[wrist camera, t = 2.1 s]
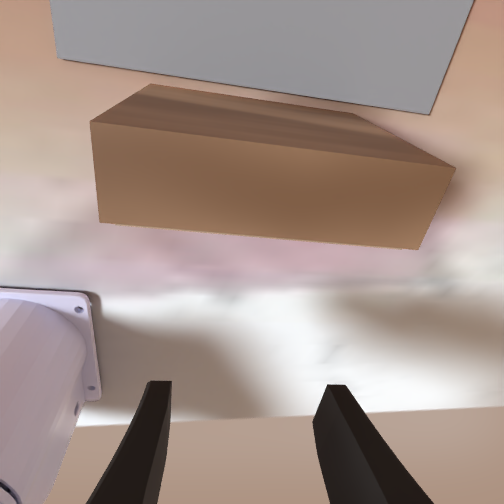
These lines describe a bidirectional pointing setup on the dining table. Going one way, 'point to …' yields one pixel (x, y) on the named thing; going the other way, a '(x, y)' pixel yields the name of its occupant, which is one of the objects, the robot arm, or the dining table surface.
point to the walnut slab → (261, 171)
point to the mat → (275, 44)
